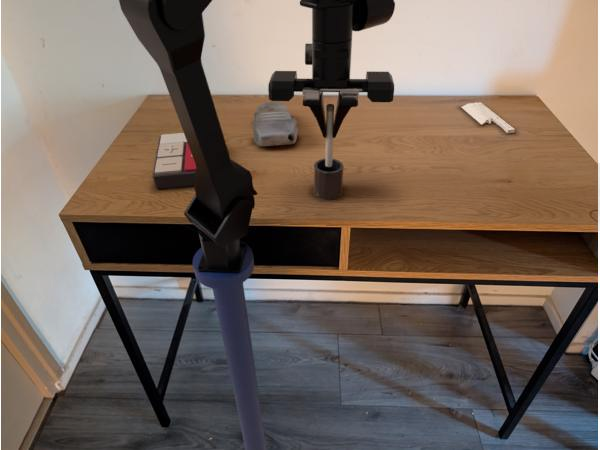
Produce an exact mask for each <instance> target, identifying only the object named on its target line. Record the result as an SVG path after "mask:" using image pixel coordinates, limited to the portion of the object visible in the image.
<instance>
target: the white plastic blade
mask: <svg viewBox="0 0 600 450" xmlns="http://www.w3.org/2000/svg"><path fill="white" fill-rule="evenodd" d="M461 109H463V111H464V112H465V113H467V114H468V115H469V116H470V117H471V118H473V119H474V120H475V121H477V122H478V123H479V124H480V125H481V126H484V125H485V124H487V123H488V124H492V122H493V123H494V124H496V125H497V126H498V127H500V128H501V129H502V130H503V131H504V132H505V133H506V134H513V133H515V131H516V128H514V127H513V126H512V125H510V124H509V123H507V122H506V121H505V120H504V119H503V118H501V117H500V116H499V115H498V114H496V113H495V112H494V111H492V110H491V108H489V107H487V106H486V105H485V104H484V103H482V102H481V101H480V102H476V101H475V102H469V103H466V104H464V105H462V106H461Z"/></svg>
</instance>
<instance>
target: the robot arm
mask: <svg viewBox="0 0 600 450" xmlns="http://www.w3.org/2000/svg"><path fill="white" fill-rule="evenodd" d="M212 1H213V0H118V2H119V6H120V9H121V12H122V14H123V15H124V17H125V18H126V20H127V22H128V25H129V26H130V28H131V29H132V31H133V33H134V35H135V37H136V38H137V39H138V41H139V42H140V43H141V45H142V46H143V48H144V49H145V50H146V51H147V53H148V55H150V56H151V58H152V60H153V61H154V62H155V63H156V65H157V67H158V68H159V70H160V73H161V75H162V79H163V81H164V83H165V86H166V89H167V92H168V94H169V98H170V100H171V102H172V105H173V108H174V111H175V113H176V115H177V119H178V121H179V123H180V127H181V129H182V131H183V132H182V133H184V135H185V137H186V140H187V143H188V145H189V148H190V151H191V153H192V156H193V159H194V161H195V164H196V171H195V176H194V186H193V187H194V191H195V194H194V195H193V196H192V198H191V200H190V202H189V204H188V205H187V207H186V208H185V211H184V212H183V215H184V216H185V218H186V219H187V221H188V222H189V223H190V224H193V225H194V226H195V227H196V228H197V229H198V231H197V232H198V236H199V241H200V244H201V246H200V247H202V251H203V255H202V258H201V260H200V263H199V266H198V271H199V272H212V273H236V274H237V273H239V272H240V271H241V267H242V263H243V259H244V255H245V251H246V247H247V246H246V244H247V243H246V242H244V243H239V241H240V239H242V238H243V237H245V236H247V235H248V231H249V227H250V222H251V218H252V213H253V209H255V205H256V201H255V196H257V195H258V192H257V191H256V189H255V188H254V182H253V176H252V173H251V171H250V170H249V169H247V168H245V167H244V166H243V165H241V164H239V163H238V162H236V161H234V160H232V159H231V156H230V151H229V149H228V146H227V142H226V140H225V136H224V132H223V130H222V126H221V122H220V120H219V115H218V112H217V109H216V105H215V103H214V100H213V96H212V92H211V89H210V86H209V82H208V79H207V75H206V73H205V69H204V66H203V62H202V55H203V50H204V44H205V39H206V31H205V25H204V16H203V13H204V11H206V9H207V8H208V7H209V6H210V4H212ZM299 6H301V7H304V8H308V9H311V11H312V12H311V43H305V46H304V64H305V65H306V66H312V67H311V71H312V73H311V75H312V77H311V78H298V73H297V72H298V71H297V70H275V71H273V73H272V74H271V76H270V79H269V82H268V87H267V89H268V90H267V91H268V100H269V101H270V102H290V101H291V100H292V99H293V98H294V97H295V93H297V92H298V93H299V92H300V93H302V96H303V98H302V106H303V107H307V108H309V109H310V111H311V113H312V115H313V116H314V118H315V120H316V122H317V124H318V125H317V126H318V127H319V129H320V132H321V134H322V137H323V138H324V139H326V111H325V110H326V109H325V104H324V103H325V102H324V101H325V100H324V93H338V94H337V102H336V107H335V112H334V127H333V139H335V138H337V135H338V133H339V131H340V128H341V126H342V124H343V122H344V120H345V118H346V116H347V115H348V113H349V112H350V110H351V109H352V108H357V107H358V106H359V97H358V96H360V93H367V94H366V98H367V99H368V100H370V102H371V103H392V102H393V101H394V95H395V83H394V79H393V76H392V74H391V73H390V71H366V73H365V78H351V68H352V67H351V66H352V47H353V32H361V31H365V30H367V29H371V28H374V27H377V26H382V25H384V24H386V23H388V22H389V21H390V20H391V19H392V17H393V15H394V13H395V9H396V2H395V0H299Z"/></svg>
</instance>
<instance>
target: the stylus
mask: <svg viewBox="0 0 600 450" xmlns="http://www.w3.org/2000/svg"><path fill="white" fill-rule="evenodd" d="M325 108H326V109H325V110H326V111H325V118H326V138H325V158H324V159H325V166H326V167H331V166H332V159H334V157H333V156H334V155H333V154H334V153H333V152H334V138H333V127H334V119H335V104H334V103H327V104H326V106H325Z"/></svg>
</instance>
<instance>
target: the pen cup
mask: <svg viewBox="0 0 600 450" xmlns="http://www.w3.org/2000/svg"><path fill="white" fill-rule="evenodd" d="M344 167H345V166H344V163H343V162H342V161H340V160H339V159H337V158H332V166H331V167H326V166H325V158H321V159H319V160H316V161H315V162H314V165H313V191H314V193H313V194H314V195H315V196H316V197H317V198H319V199H321V200H325V201H326V200H330V201H331V200H335V199H338V198H339V197H340V196H342V193H343V183H344Z"/></svg>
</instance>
